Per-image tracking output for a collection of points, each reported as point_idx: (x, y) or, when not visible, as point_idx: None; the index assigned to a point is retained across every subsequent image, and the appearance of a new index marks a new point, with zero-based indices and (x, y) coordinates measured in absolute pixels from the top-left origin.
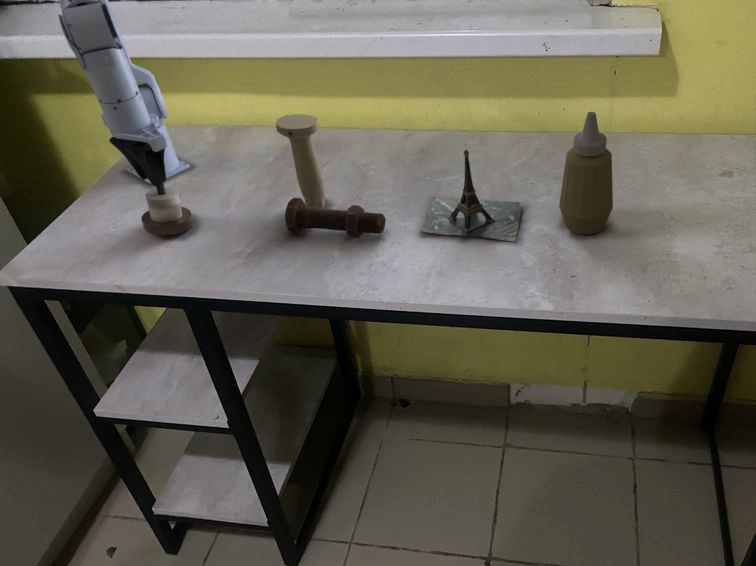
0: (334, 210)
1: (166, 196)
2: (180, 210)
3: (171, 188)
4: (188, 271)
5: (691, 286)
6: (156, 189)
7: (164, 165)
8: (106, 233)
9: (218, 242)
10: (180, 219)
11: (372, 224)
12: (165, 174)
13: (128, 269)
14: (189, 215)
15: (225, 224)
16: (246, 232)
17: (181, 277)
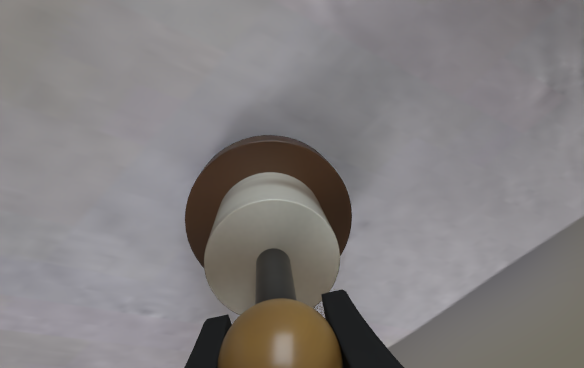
0: None
1: (313, 256)
2: (305, 188)
3: (237, 212)
4: (492, 227)
5: None
6: (216, 269)
7: (386, 351)
8: (162, 329)
9: (452, 118)
10: (326, 194)
11: None
12: (355, 310)
13: None
14: (312, 157)
15: (381, 52)
16: (487, 16)
17: (496, 246)
